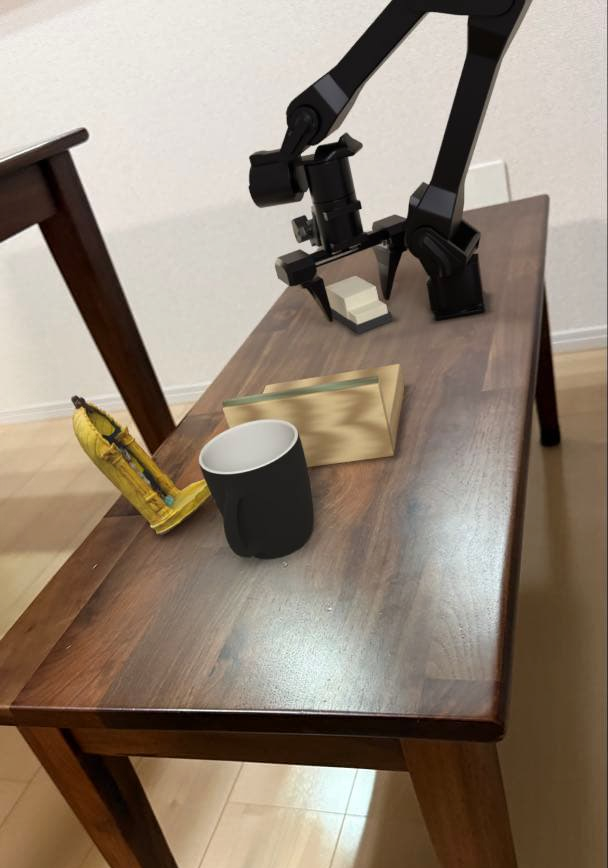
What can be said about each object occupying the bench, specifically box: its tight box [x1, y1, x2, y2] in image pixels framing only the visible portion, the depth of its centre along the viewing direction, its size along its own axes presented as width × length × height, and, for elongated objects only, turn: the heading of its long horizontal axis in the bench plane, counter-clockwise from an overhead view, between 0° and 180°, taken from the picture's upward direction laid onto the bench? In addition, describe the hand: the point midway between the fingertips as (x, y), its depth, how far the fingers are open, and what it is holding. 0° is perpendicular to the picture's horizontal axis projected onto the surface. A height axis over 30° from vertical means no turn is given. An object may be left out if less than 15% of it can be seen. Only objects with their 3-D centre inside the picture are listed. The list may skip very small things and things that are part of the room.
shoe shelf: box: [221, 363, 405, 468], centre depth 91 cm, size 16×15×9 cm
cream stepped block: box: [325, 275, 393, 335], centre depth 117 cm, size 5×10×4 cm, turn 20°
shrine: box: [70, 394, 212, 536], centre depth 81 cm, size 12×8×15 cm
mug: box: [198, 419, 315, 560], centre depth 74 cm, size 12×9×10 cm
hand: (358, 310), depth 117 cm, fingers open, 8 cm apart
